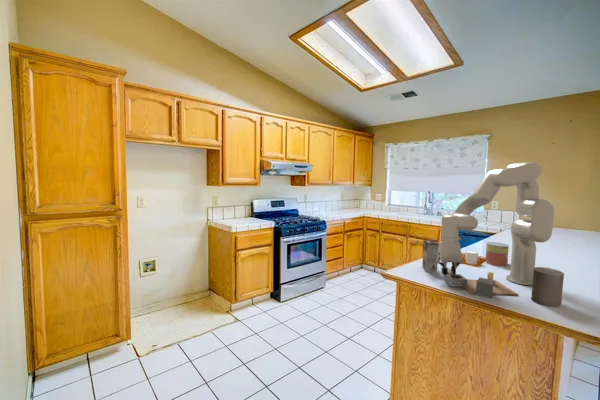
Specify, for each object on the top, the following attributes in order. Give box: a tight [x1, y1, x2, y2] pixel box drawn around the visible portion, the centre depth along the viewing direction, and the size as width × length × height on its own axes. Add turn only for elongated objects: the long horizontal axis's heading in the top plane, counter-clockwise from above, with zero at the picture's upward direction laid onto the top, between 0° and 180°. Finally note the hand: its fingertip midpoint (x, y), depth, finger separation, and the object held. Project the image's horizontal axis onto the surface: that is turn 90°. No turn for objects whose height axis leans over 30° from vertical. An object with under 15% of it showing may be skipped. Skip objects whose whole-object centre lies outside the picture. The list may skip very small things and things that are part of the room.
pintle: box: [486, 271, 494, 280], centre depth 138 cm, size 2×2×5 cm
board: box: [461, 278, 519, 297], centre depth 135 cm, size 20×17×1 cm
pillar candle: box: [530, 266, 565, 308], centre depth 119 cm, size 10×10×15 cm
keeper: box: [475, 277, 495, 299], centre depth 127 cm, size 7×6×6 cm
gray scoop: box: [440, 266, 468, 287], centre depth 141 cm, size 17×7×3 cm, turn 174°
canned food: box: [484, 241, 510, 267], centre depth 173 cm, size 11×11×12 cm
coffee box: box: [422, 239, 439, 273], centre depth 161 cm, size 9×6×16 cm
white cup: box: [465, 250, 479, 265], centre depth 174 cm, size 7×7×7 cm
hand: (449, 274), depth 144 cm, fingers closed on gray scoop, 3 cm apart
